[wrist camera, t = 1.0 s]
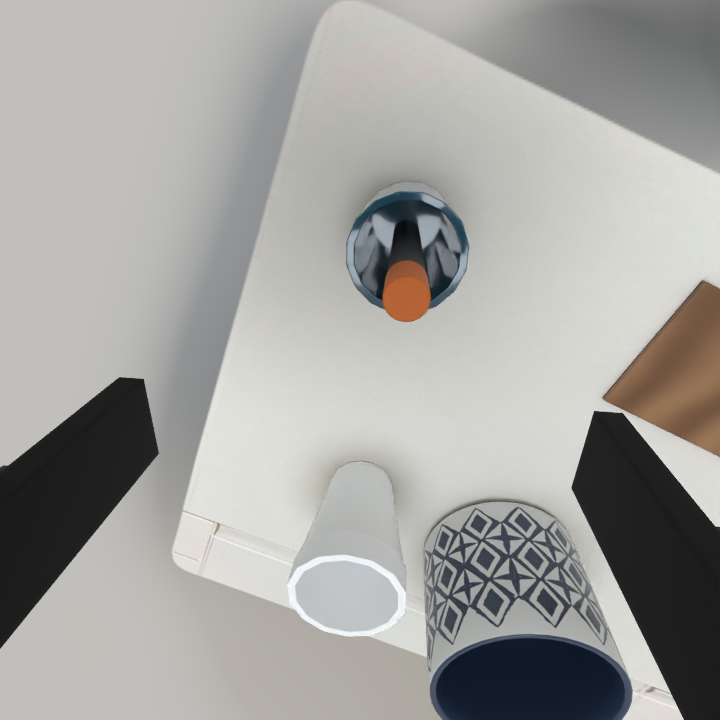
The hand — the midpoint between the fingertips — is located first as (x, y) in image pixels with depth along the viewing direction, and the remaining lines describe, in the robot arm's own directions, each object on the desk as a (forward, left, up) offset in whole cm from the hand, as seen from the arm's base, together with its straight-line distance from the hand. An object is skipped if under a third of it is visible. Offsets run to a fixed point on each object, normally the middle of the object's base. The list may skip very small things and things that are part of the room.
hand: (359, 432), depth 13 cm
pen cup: (-2, +1, -26) cm, 26 cm away
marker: (-2, +1, -25) cm, 25 cm away
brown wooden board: (+10, +30, -26) cm, 41 cm away
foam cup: (+24, -2, -26) cm, 35 cm away
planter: (+32, +13, -26) cm, 43 cm away
